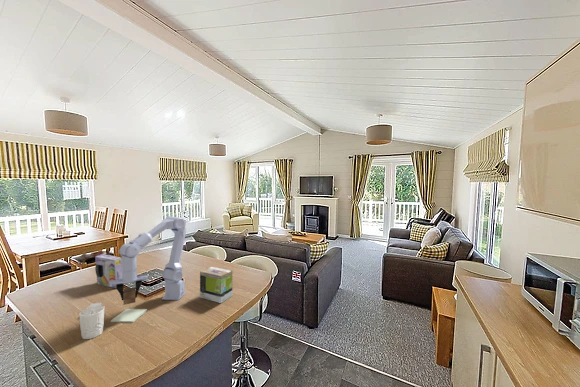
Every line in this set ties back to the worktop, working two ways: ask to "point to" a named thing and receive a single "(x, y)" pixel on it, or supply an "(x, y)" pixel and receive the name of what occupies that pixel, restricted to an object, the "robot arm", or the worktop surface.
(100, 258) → the cake pan box
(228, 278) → the tea box
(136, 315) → the coaster
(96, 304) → the grey stone block
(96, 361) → the worktop surface
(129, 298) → the walnut block
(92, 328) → the white cup
